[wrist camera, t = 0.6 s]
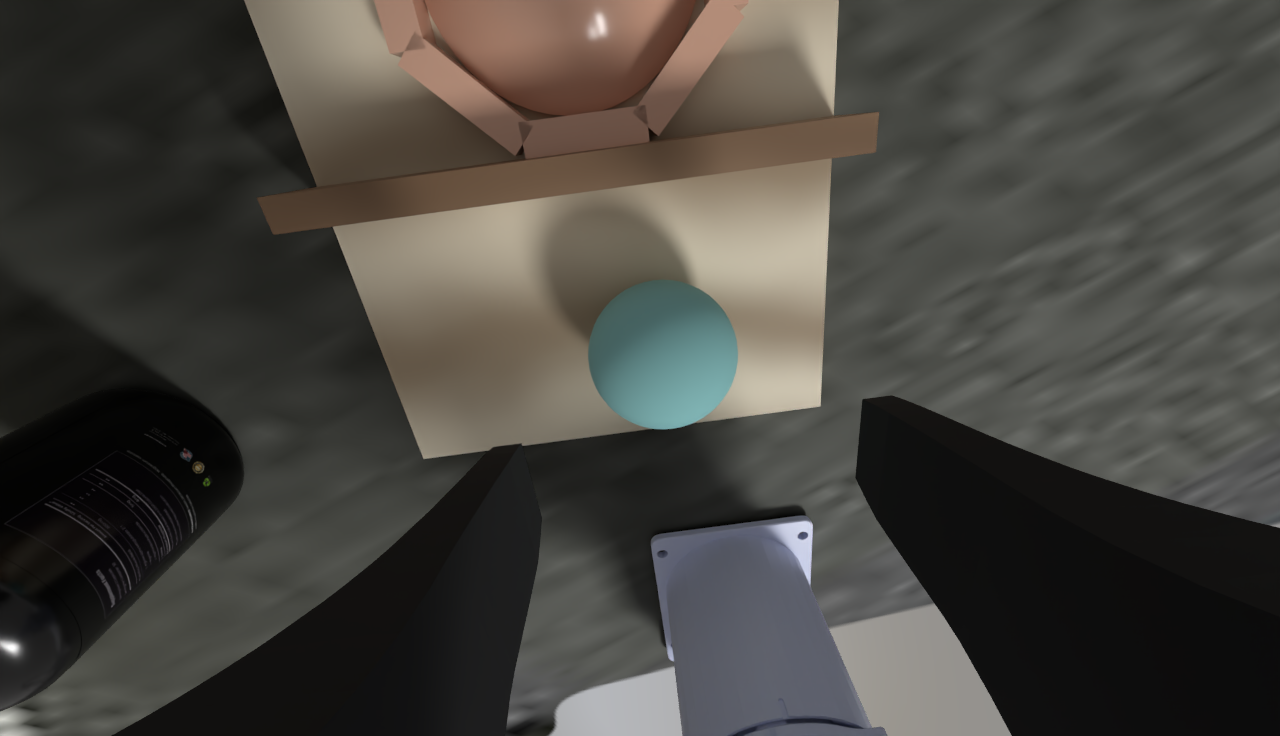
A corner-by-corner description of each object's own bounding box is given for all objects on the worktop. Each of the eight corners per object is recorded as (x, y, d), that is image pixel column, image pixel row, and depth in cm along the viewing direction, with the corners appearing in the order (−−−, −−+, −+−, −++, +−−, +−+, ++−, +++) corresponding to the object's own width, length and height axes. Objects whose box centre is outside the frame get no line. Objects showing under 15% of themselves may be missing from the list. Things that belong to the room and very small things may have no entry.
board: (813, 397, 21) (851, 447, 18) (429, 448, 21) (395, 507, 18) (843, -395, 12) (938, -613, 8) (148, -293, 12) (-39, -466, 8)
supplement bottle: (147, 527, 23) (-280, 888, 12) (33, 404, 20) (-676, 735, 9) (284, 495, 22) (-28, 838, 11) (188, 364, 19) (-356, 659, 8)
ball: (724, 377, 20) (757, 448, 15) (602, 393, 20) (598, 469, 15) (717, 254, 18) (753, 296, 13) (580, 273, 18) (569, 321, 13)
